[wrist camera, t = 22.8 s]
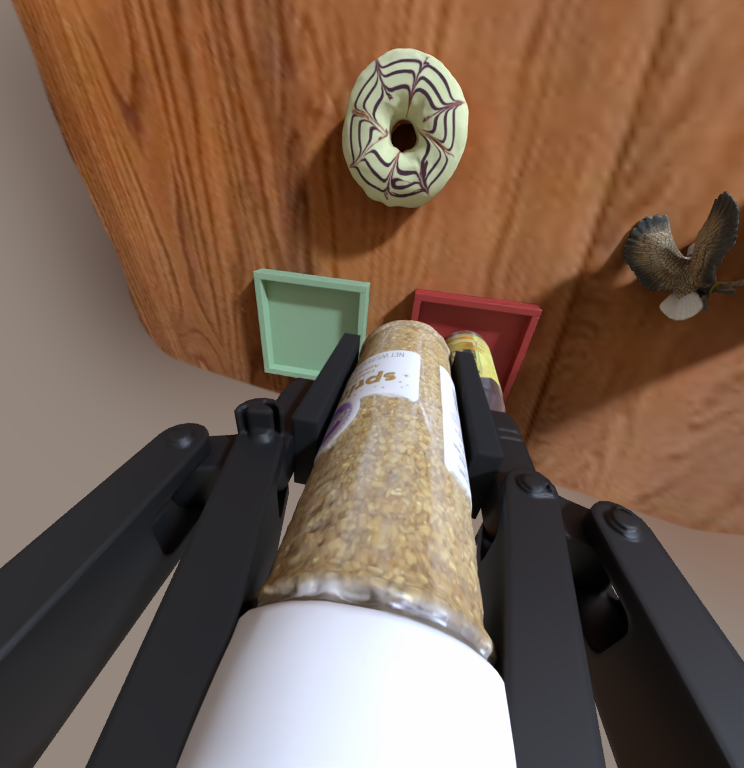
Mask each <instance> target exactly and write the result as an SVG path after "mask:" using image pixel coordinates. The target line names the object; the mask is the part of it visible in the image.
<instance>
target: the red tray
mask: <svg viewBox="0 0 744 768" xmlns="http://www.w3.org/2000/svg"><path fill="white" fill-rule="evenodd" d="M541 313H542V309H540V308H539V307H538V306H537V305H535V304H527V303H520V302H512V301H505V300H497V299H489V298H482V297H474V296H467V295H459V294H452V293H444V292H436V291H429V290H421V289H416V290H415V296H414V302H413V308H412V315H411V320H413V321H418V322H422V323H424V324H427V325H429V326H431V327H432V328H433V329H434V330H435V331H437V332H438V334H439V335H441V336H442V337H443V338H444V339H445V337H447V336H449V335H450V334H452V333H454V332H458V331H463V330H467V331H472V332H475V333H477V334H479V335H480V336H481V337H482V338H483V339H484V340H485V342H486V344H487V345H488V347H489V350H490V353H491V356H492V359H493V363H494V367H495V370H496V374H497V377H498V380H499V384H500V387H501V390H502V394H503V402H504V406H505V404H506V401H507V399H508V396H509V394H510V391H511V389H512V386H513V384H514V381H515V379H516V376H517V374H518V371H519V368H520V366H521V363H522V361H523V358H524V356H525V353H526V351H527V348H528V346H529V343H530V341H531V338H532V336H533V333H534V331H535V328H536V326H537V323H538V321H539V318H540V315H541Z"/></svg>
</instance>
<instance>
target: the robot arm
mask: <svg viewBox="0 0 744 768" xmlns="http://www.w3.org/2000/svg"><path fill="white" fill-rule="evenodd" d="M360 337H361V335H356V334H350V333H344V335H343V336H342V338H341V339H340V341H339V343H338V344H337V346H336V347H335V349H334V351H333V352H332V354H331V355H330V357H329V359H328V360H327V362H326V363H325V365H324V366H323V368H322V370H321V371H320V373H319V374H318V376H317V378H316V379H315V380H311V379H305V378H297V379H295V380H294V381H292V382H290V383H289V384H288V385H287V386H286V388H285V389H284V390H283V392H282V393H281V394H280V396H279V397H278V399H277V400H276V401H275V400H273V399H268V398H256V399H252V400H248V401H246V402H244V403H242V404H240V405H239V406H238V407H237V408H236V409H235V411H234V412H235V418H236V424H237V430H238V434H236V435H225V436H209V433H208V431H207V429H206V428H205V427H204V426H202V425H199V424H194V423H186V424H180V425H176V426H174V427H171V428H168V429H167V430H165V431H163V432H162V433H160V434H159V435H158V436H157V437H156V438H154V439H153V440H152V441H151V442H150V443H148V444H147V445H146V446H145V447H144V448H142V449H141V450H140V451H139V452H138V453H137V454H135V455H134V456H133V457H132V458H131V459H129V460H128V461H127V462H126V463H125V464H124V465H122V466H121V467H120V468H119V469H118V470H116V471H115V472H114V473H113V474H112V475H110V476H109V477H108V478H107V479H106V480H105V481H103V482H102V483H101V484H100V485H99V486H97V487H96V488H95V489H94V490H93V491H92V492H90V493H89V494H88V495H87V496H86V497H84V498H83V499H82V500H81V501H80V502H79V503H77V504H76V505H75V506H74V507H73V508H71V509H70V510H69V511H68V512H67V513H66V514H64V515H63V516H62V517H61V518H60V519H58V520H57V521H56V522H55V523H54V524H52V525H51V526H50V527H49V528H48V529H47V530H46V531H44V532H43V533H42V534H41V535H39V536H38V537H37V538H36V539H35V540H34V541H32V542H31V543H30V544H29V545H28V546H26V547H25V548H24V549H23V550H22V551H21V552H19V553H18V554H17V555H16V556H15V557H14V558H12V559H11V560H10V561H9V562H8V563H6V564H5V565H4V566H3V567H2V568H0V768H33V767H34V765H35V764H36V762H37V761H38V760H39V758H40V757H41V755H42V754H43V752H44V751H45V750H46V748H47V747H48V745H49V744H50V743H51V741H52V740H53V738H54V737H55V736H56V734H57V733H58V731H59V730H60V729H61V727H62V726H63V724H64V723H65V721H66V720H67V719H68V717H69V716H70V714H71V713H72V712H73V710H74V709H75V707H76V706H77V704H78V703H79V702H80V700H81V699H82V697H83V696H84V695H85V693H86V692H87V690H88V689H89V688H90V686H91V685H92V683H93V682H94V681H95V679H96V677H97V676H98V675H99V673H100V672H101V670H102V669H103V668H104V666H105V665H106V664H107V662H108V661H109V659H110V658H111V656H112V655H113V653H114V652H115V651H116V649H117V648H118V647H119V645H120V643H121V642H122V641H123V640H124V638H125V636H126V635H127V634H128V632H129V631H130V630H131V628H132V627H133V625H134V624H135V622H136V621H137V620H138V618H139V617H140V616H141V614H142V613H143V611H144V610H145V608H146V607H147V605H148V604H149V603H150V601H151V600H152V598H153V597H154V596H155V594H156V593H157V591H158V590H159V589H160V587H161V586H162V584H163V583H164V582H165V580H166V579H167V577H168V576H169V575H170V573H171V572H172V570H173V569H174V567H175V566H176V565H177V563H178V562H179V560H180V559H181V560H180V562H179V564H178V566H177V568H176V570H175V573H174V575H173V578H172V579H171V581H170V584H169V586H168V588H167V590H166V592H165V595H164V597H163V599H162V601H161V603H160V605H159V608H158V610H157V612H156V614H155V616H154V619H153V621H152V623H151V625H150V628H149V630H148V632H147V634H146V636H145V638H144V640H143V643H142V645H141V647H140V649H139V651H138V654H137V656H136V658H135V660H134V662H133V665H132V667H131V669H130V671H129V674H128V676H127V678H126V680H125V683H124V684H123V686H122V689H121V691H120V693H119V695H118V697H117V700H116V702H115V704H114V706H113V708H112V710H111V713H110V715H109V717H108V719H107V721H106V724H105V726H104V728H103V730H102V732H101V735H100V737H99V739H98V741H97V743H96V746H95V748H94V750H93V752H92V754H91V757H90V759H89V761H88V763H87V765H86V767H85V768H176V767H177V764H178V762H179V759H180V757H181V754H182V752H183V749H184V747H185V744H186V742H187V739H188V737H189V734H190V732H191V729H192V727H193V725H194V722H195V720H196V718H197V715H198V713H199V711H200V708H201V706H202V704H203V701H204V699H205V697H206V694H207V692H208V690H209V687H210V685H211V683H212V681H213V678H214V676H215V674H216V671H217V669H218V667H219V665H220V663H221V660H222V658H223V656H224V654H225V652H226V650H227V647H228V645H229V643H230V641H231V639H232V636H233V634H234V631H235V628H236V625H237V622H238V620H239V618H240V617H241V616H243V615H244V614H245V613H246V612H247V611H249V610H251V602H252V600H253V598H254V596H255V595H256V593H257V592H258V591H259V589H260V588H261V587H262V586H263V584H264V583H265V581H266V579H267V577H268V575H269V572H270V569H271V566H272V564H273V561H274V558H275V556H276V554H277V551H278V546H279V540H280V535H281V530H282V525H283V520H284V515H285V510H286V505H287V500H288V495H289V487H288V482H289V481H290V478H291V476H292V474H293V472H294V482H296V483H300V484H305V485H306V482H307V480H308V478H309V476H310V474H311V472H312V469H313V466H314V460H315V458H316V455H317V453H318V450H319V448H320V446H321V444H322V441H323V439H324V437H325V434H326V432H327V429H328V427H329V424H330V422H331V420H332V417H333V415H334V413H335V410H336V408H337V406H338V404H339V401H340V399H341V397H342V394H343V392H344V390H345V387H346V385H347V382H348V380H349V378H350V376H351V375H352V373H353V372H354V370H355V367H356V365H357V363H358V359H359V348H360ZM451 377H452V381H453V384H454V387H455V392H456V398H457V405H458V412H459V418H460V424H461V430H462V436H463V443H464V449H465V457H466V464H467V471H468V478H469V485H470V492H471V501H472V514H471V517H472V518H473V519H476V517H477V515H478V513H479V511H480V509H481V511H482V517H483V523H482V525H481V527H480V529H479V531H478V533H477V535H476V537H475V545H477V554H476V559H477V568H478V578H479V584H480V590H481V596H482V602H483V611H484V617H485V623H484V628H485V630H486V632H487V633H488V635H489V636H490V638H491V640H492V642H493V644H494V647H495V651H496V654H497V661H496V663H495V665H494V666H493V668H494V669H495V670H496V671H497V672H498V674H499V675H500V677H501V678H502V680H503V682H504V685H505V692H506V698H507V705H508V712H509V719H510V725H511V732H512V739H513V745H514V752H515V759H516V767H517V768H606V765H605V759H604V753H603V748H602V742H601V736H600V730H599V725H598V719H597V713H596V707H595V703H596V706H597V709H598V712H599V715H600V718H601V720H602V724H603V726H604V729H605V732H606V735H607V738H608V740H609V744H610V747H611V749H612V752H613V755H614V758H615V761H616V764H617V767H618V768H744V662H743V660H742V659H741V657H740V656H739V655H738V653H737V652H736V650H735V649H734V647H733V646H732V644H731V643H730V642H729V640H728V639H727V637H726V636H725V634H724V633H723V632H722V630H721V629H720V627H719V626H718V625H717V623H716V622H715V620H714V619H713V617H712V616H711V615H710V613H709V612H708V610H707V609H706V607H705V606H704V605H703V604H702V602H701V600H700V599H699V597H698V596H697V595H696V593H695V592H694V590H693V589H692V587H691V586H690V585H689V583H688V582H687V580H686V579H685V577H684V576H683V575H682V573H681V572H680V570H679V569H678V567H677V566H676V565H675V563H674V562H673V560H672V559H671V558H670V556H669V555H668V553H667V552H666V550H665V549H664V548H663V546H662V545H661V543H660V542H659V541H658V539H657V538H656V536H655V535H654V533H653V532H652V530H651V529H650V528H649V527H648V526H647V525H646V524H645V522H644V521H643V520H642V519H641V518H639V517H638V516H637V515H636V514H634V513H633V512H632V511H630V510H628V509H626V508H624V507H623V506H621V505H619V504H615V503H612V502H609V501H599V502H597V503H595V504H594V505H593V506H592V507H591V509H588V508H585V507H583V506H580V505H578V504H576V503H573V502H571V501H569V500H567V499H564V498H563V497H561V496H559V495H558V493H557V491H556V488H555V486H554V485H553V484H552V483H551V482H550V481H549V479H547V478H546V477H544V476H543V475H542V474H540V473H538V472H536V471H535V468H534V466H533V463H532V461H531V458H530V456H529V453H528V451H527V448H526V446H525V444H524V442H523V439H522V436H521V434H520V431H519V429H518V426H517V424H516V422H515V421H514V420H513V419H512V418H511V417H510V416H509V415H508V414H507V413H505V412H500V411H494V410H490V407H489V404H488V401H487V398H486V394H485V391H484V388H483V385H482V381H481V378H480V375H479V372H478V368H477V365H476V362H475V359H474V355H473V353H468V352H462V351H456V353H455V356H454V360H453V363H452V367H451ZM477 543H478V544H477ZM612 585H613V587H614V589H615V591H616V593H617V595H618V597H619V598H618V597H617V595H616V594H615V592H614V590H613V588H612ZM594 701H595V702H594Z"/></svg>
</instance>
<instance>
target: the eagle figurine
mask: <svg viewBox="0 0 744 768" xmlns="http://www.w3.org/2000/svg"><path fill="white" fill-rule="evenodd" d="M738 220H739V208H738V207H737V202H736V201H734V199H733V196H732V195H730V196H729V194H728V192H727V191H724V193H723V194H720V195H719V197H718V199H715V201H714V204H713V206H712V209H711V212H710V214H709V216H708V218H707V221H706V222H705V223H704V225H703V227H702V228H701V230H700V231H699V233H698V236H697V238H696V241H695V242H694V243H693V244H692V245H690V246H689V247H688V251H687V256H686V257H685V256H683V255H682V254H681V253H680V251H679V250H678V249H677V247H676V245H675V242H674V240H673V238H672V235H671V228H670V223H669V219H668V216H667V215H664V216H662V217H661V216H659V215H655V216H654V217H653V218H651V217H649V216H648V217H645V219H644V220H641V221H639V222H638V223H637V227H636V228H634V229H633V230H632V231H631V238H628V239H627V240H626V242H627V245H625V246H624V254H625V255H624V259H625V260H626V264H628V265H630V268H631V270H632V271H634V272H635V275H636V276H637V278H638V279H640V280H639V282H640V284H641V285H643V286H644V287H646V288H648V290H653V291H656V290H660V291H663V290H666V291H672V293H671V294H670V295H669V296H668V297H667V298H666V299H665V300H664V301H663V302H662V303H661V304H660V306H659V307H660V310H661V311H662V312H663V313H664V314H665V315H666V316H667V317H668V318H670V319H674V320H676V321H678V320H686V319H688V318H690V317H693V316H694V315H696V314H698V313H699V312H700V310H702V309H703V311H708V297H709V293H713V292H717V293H722V294H727V295H734V294H736V289H733V288H736V287H740V286H743V285H744V279H743V280H737V281H734V282H727V281H723V282H715V281H716V280H717V278H716V277H715V271H716V270H717V267H718V266H719V265H720V264H722V260H723V258H724V256H725V255H726V254H727V253H728V250H729V249H730V248H732V247H733V246H734V245H735V243H736V242H735V241H736V239H737V238H738V236H737V235H736V233H737V232H738V229H737V227H738V226H739V223H738Z"/></svg>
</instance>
